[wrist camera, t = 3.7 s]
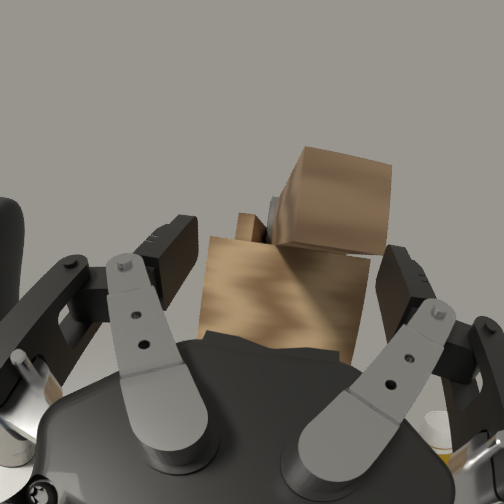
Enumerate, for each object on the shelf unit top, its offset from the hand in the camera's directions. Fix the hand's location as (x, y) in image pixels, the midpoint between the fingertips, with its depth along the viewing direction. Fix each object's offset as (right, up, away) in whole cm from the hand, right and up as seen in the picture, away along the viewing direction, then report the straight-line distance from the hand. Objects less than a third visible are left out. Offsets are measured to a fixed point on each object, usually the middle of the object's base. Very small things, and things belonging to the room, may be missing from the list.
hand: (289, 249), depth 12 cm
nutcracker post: (-3, -32, +15) cm, 35 cm away
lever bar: (+2, 0, +10) cm, 10 cm away
